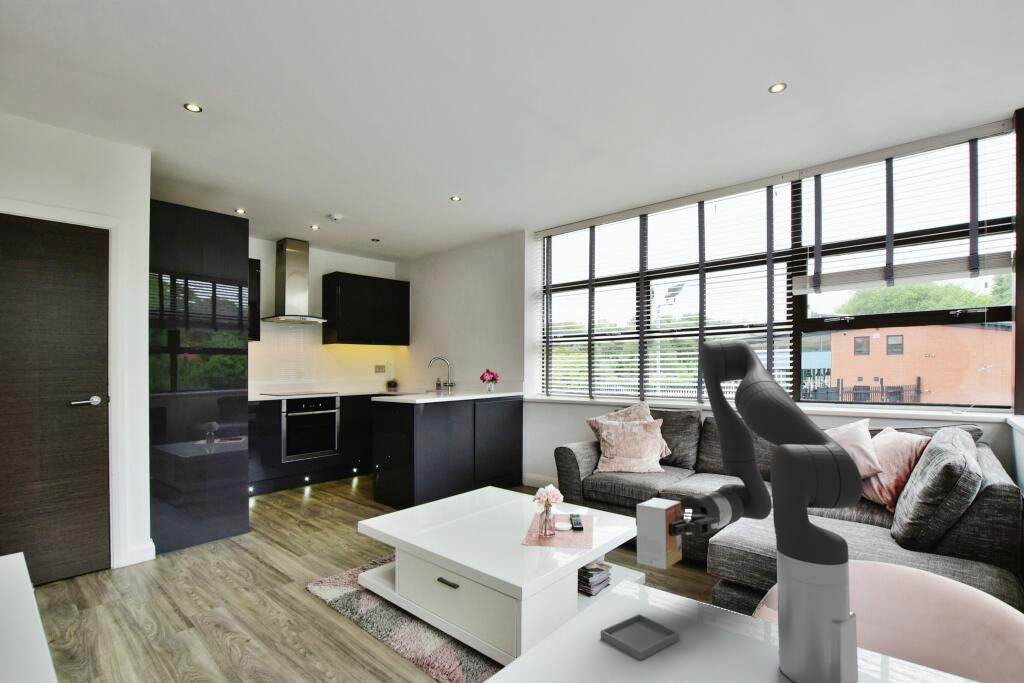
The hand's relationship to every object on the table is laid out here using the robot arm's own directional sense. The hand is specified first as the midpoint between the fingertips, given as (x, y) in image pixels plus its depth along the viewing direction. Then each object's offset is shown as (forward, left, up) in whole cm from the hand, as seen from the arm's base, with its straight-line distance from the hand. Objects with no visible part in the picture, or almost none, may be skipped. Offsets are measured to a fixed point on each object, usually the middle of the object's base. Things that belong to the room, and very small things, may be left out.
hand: (653, 525), depth 91 cm
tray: (-3, +8, -16) cm, 18 cm away
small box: (0, -2, -7) cm, 7 cm away
